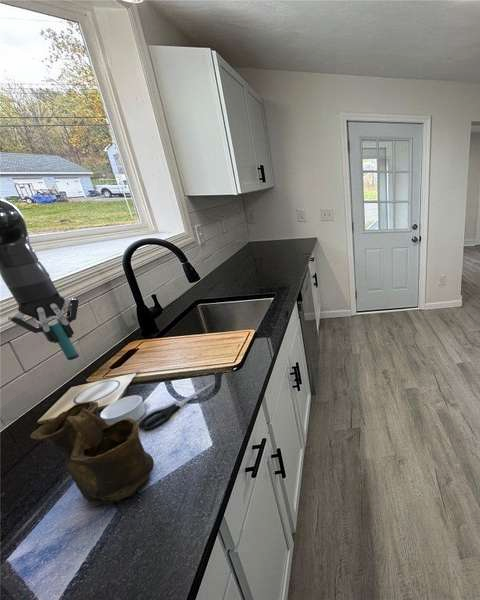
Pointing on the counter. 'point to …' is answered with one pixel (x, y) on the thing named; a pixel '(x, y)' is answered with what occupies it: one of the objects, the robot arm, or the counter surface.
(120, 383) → the board
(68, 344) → the marker
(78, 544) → the counter surface
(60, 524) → the counter surface
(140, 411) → the ramekin
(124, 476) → the pottery vessel
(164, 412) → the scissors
